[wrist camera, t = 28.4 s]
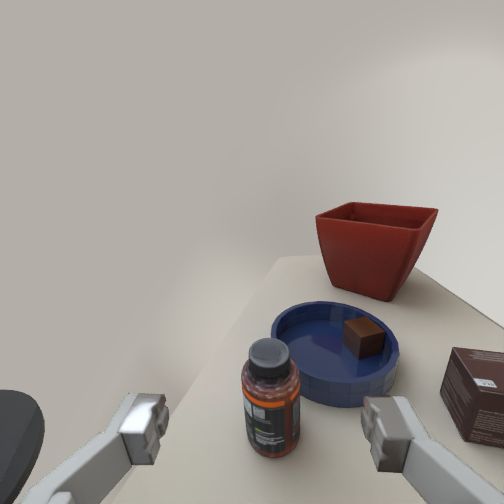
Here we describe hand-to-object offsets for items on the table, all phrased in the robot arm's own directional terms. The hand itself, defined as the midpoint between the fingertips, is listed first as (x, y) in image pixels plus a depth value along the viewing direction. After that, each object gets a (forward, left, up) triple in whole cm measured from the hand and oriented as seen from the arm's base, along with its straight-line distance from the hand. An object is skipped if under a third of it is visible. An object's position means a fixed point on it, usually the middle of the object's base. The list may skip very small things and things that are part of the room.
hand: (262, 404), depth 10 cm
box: (+27, +3, -20) cm, 33 cm away
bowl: (+18, +18, -19) cm, 32 cm away
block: (+23, +17, -19) cm, 34 cm away
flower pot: (+40, +33, -20) cm, 55 cm away
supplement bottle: (+5, +11, -20) cm, 23 cm away
